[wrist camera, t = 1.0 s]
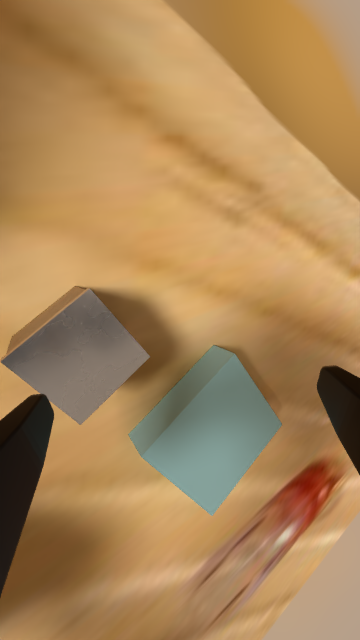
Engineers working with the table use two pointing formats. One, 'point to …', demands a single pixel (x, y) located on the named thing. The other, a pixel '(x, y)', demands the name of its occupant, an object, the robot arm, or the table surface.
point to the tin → (75, 353)
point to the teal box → (207, 429)
